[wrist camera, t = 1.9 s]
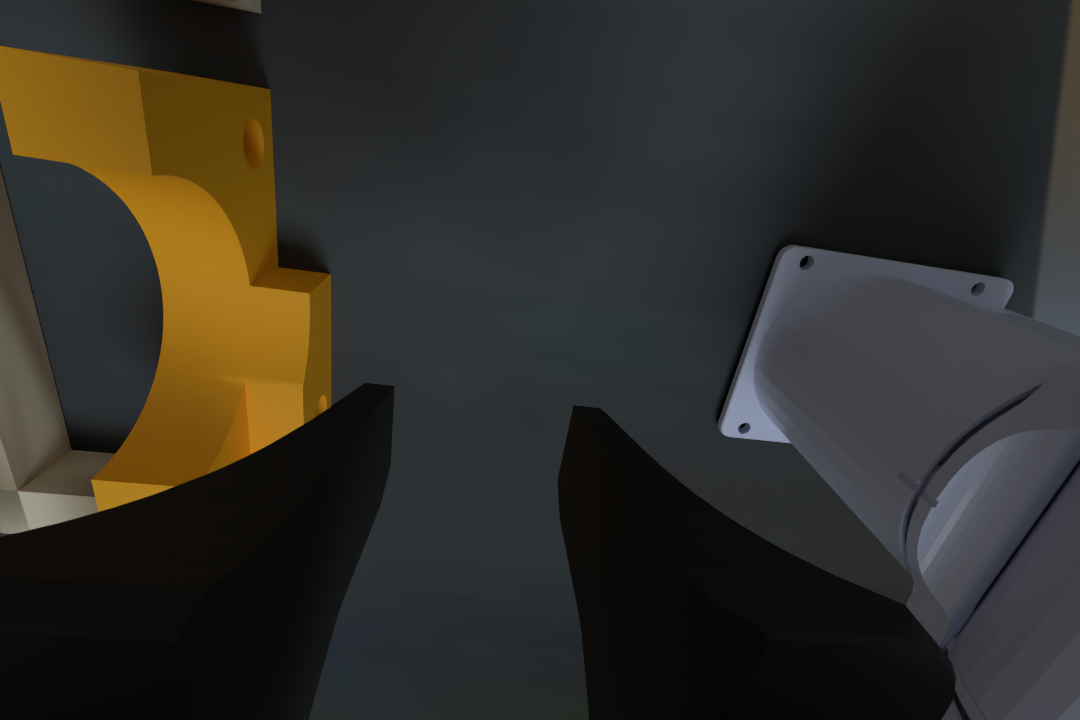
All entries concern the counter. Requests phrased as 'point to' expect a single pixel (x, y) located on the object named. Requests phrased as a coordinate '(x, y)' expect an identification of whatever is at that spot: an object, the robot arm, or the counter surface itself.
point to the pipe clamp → (188, 256)
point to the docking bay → (39, 399)
